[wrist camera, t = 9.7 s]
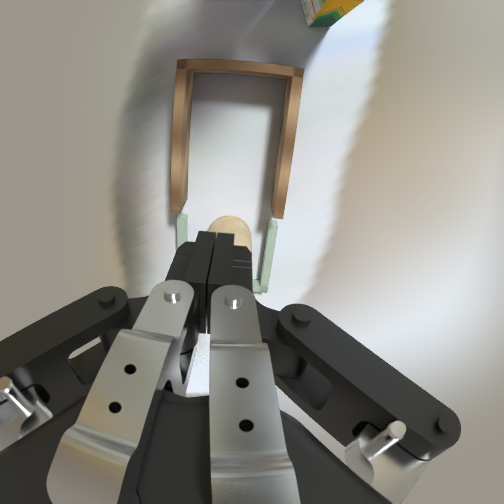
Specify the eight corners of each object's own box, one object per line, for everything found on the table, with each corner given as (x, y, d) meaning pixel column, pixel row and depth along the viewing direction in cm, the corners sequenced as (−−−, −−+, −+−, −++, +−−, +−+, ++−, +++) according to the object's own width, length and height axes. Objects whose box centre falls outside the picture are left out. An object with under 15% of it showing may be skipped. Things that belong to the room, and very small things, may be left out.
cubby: (186, 64, 24) (177, 59, 21) (296, 73, 25) (304, 68, 21) (179, 198, 32) (171, 210, 29) (279, 205, 33) (282, 219, 29)
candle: (241, 259, 37) (239, 311, 28) (201, 245, 36) (188, 294, 27) (258, 224, 34) (262, 270, 26) (216, 208, 33) (205, 250, 24)
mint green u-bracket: (179, 213, 33) (176, 218, 32) (276, 220, 34) (277, 225, 33) (181, 279, 38) (179, 285, 37) (266, 286, 39) (266, 292, 38)
